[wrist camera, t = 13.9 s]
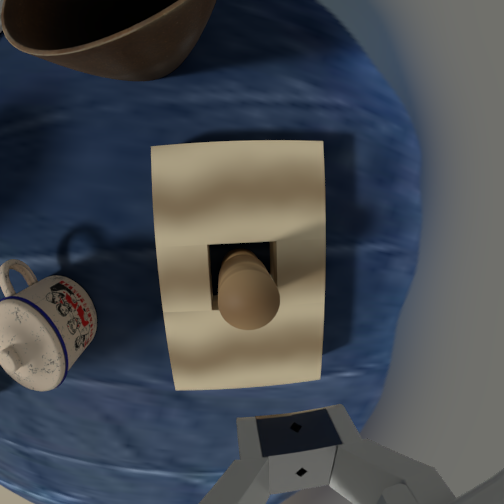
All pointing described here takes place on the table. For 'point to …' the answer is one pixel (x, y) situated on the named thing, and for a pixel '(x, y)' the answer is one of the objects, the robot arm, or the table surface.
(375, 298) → the table surface
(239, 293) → the peg
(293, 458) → the robot arm
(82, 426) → the table surface
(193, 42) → the plant pot
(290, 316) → the block
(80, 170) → the table surface
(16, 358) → the teacup with lid
